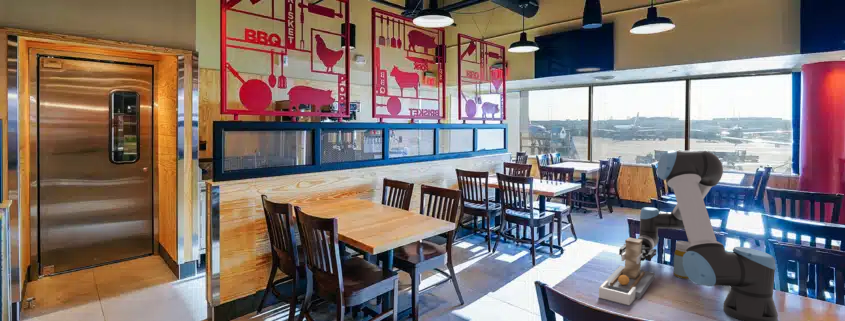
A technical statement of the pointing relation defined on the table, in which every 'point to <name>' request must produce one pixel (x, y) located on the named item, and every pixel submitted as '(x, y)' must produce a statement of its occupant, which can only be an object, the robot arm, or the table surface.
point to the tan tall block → (632, 258)
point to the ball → (623, 280)
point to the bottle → (680, 259)
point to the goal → (616, 295)
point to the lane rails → (632, 284)
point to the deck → (631, 282)
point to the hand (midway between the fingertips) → (630, 259)
